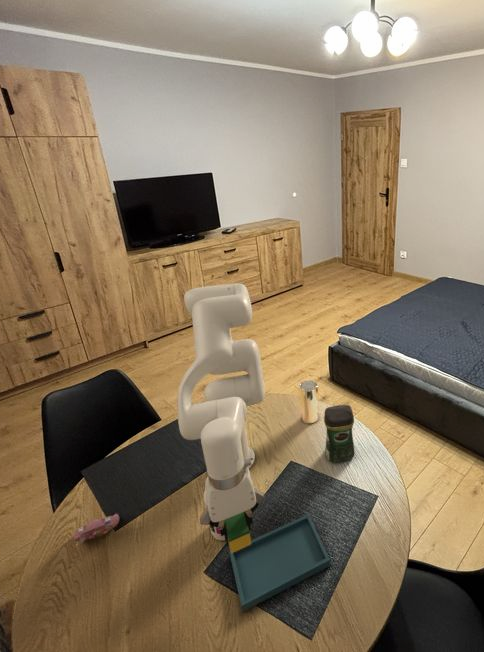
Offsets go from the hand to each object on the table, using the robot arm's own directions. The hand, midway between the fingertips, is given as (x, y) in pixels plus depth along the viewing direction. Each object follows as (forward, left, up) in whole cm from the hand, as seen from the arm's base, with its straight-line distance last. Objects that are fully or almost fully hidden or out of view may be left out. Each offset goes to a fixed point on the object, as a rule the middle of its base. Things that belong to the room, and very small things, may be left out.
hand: (237, 529), depth 85 cm
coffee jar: (-21, +37, -13) cm, 45 cm away
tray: (+3, +8, -13) cm, 16 cm away
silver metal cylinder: (-42, +35, -13) cm, 57 cm away
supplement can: (-12, -2, -13) cm, 18 cm away
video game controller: (-26, -33, -13) cm, 44 cm away
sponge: (0, 0, -2) cm, 2 cm away
